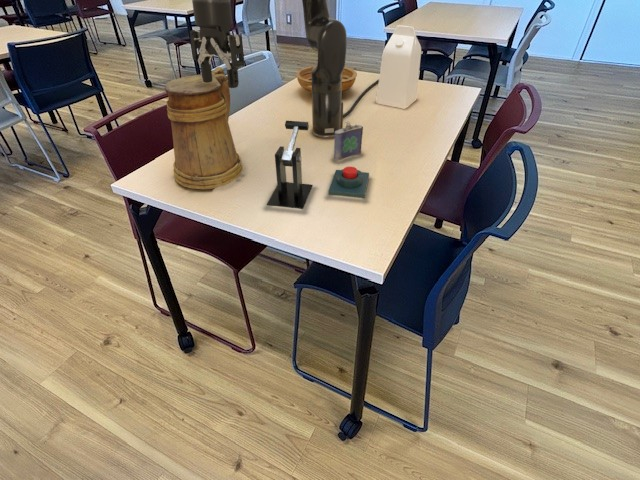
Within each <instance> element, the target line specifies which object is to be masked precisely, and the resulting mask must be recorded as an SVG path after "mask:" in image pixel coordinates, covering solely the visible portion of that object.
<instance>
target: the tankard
mask: <svg viewBox="0 0 640 480" xmlns="http://www.w3.org/2000/svg"><path fill="white" fill-rule="evenodd" d="M211 71H212V79H213V80H212V82H208V83H206V82H203V78H202V73H199V74H194V75H186V76H182V77H178V78H174V79H171V80H169V81H168V82H166V83H165V86H164V91H165V93H166V94H167V97H168V98H167V100H166V110H167V111H166V112H167V117H168V120H170V126H171V133H172V143H173V155H174V161H173V165H172V166H173V170H172V171H173V177H174V180H175V182H176V183H178V184H179V185H180V186H182V187H185V188H188V189H194V190H211V189H212V190H213V189H216V188H219V187H224V186H226V185H229V184H231V183H232V182H234V181H235V180H236V179H238V177H239V176H241V174H242V172H243V170H244V167H243V166H244V165H243V163H242V159H241V158H242V157H241V156H240V154H239V153H238V152H237V148H236V145H235V142H234V139H233V135H232V132H231V128H230V124H229V118H230V112H231V111H230V110H231V89H230V88H229V87H228V77H227V74H226V73H225V72H224V68H222V67H221V66H218V67H216V68H214V69H211Z"/></svg>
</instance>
